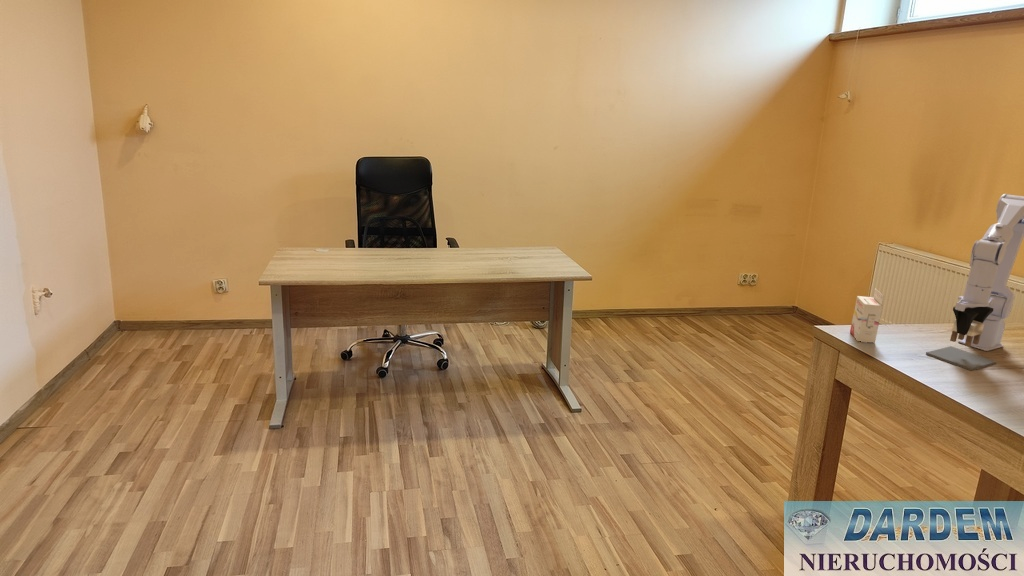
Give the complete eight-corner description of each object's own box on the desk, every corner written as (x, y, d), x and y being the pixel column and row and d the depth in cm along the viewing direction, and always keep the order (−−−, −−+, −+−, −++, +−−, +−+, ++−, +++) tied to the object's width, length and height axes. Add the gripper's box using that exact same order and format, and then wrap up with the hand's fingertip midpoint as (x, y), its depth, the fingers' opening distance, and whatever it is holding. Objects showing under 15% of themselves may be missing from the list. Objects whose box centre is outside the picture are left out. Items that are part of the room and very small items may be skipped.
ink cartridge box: (848, 331, 196) (857, 285, 192) (866, 333, 195) (875, 287, 191) (857, 341, 188) (867, 293, 184) (875, 343, 187) (885, 295, 183)
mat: (950, 348, 186) (950, 346, 186) (995, 363, 176) (996, 361, 176) (925, 354, 181) (926, 352, 180) (971, 370, 171) (971, 368, 170)
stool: (959, 338, 180) (964, 317, 179) (978, 344, 176) (984, 323, 174) (949, 340, 178) (954, 320, 176) (968, 346, 174) (974, 325, 172)
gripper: (978, 278, 179) (966, 324, 183) (948, 283, 172) (936, 331, 176) (1006, 285, 173) (993, 332, 177) (976, 290, 166) (964, 339, 170)
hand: (967, 332), depth 176 cm, fingers closed on stool, 5 cm apart
